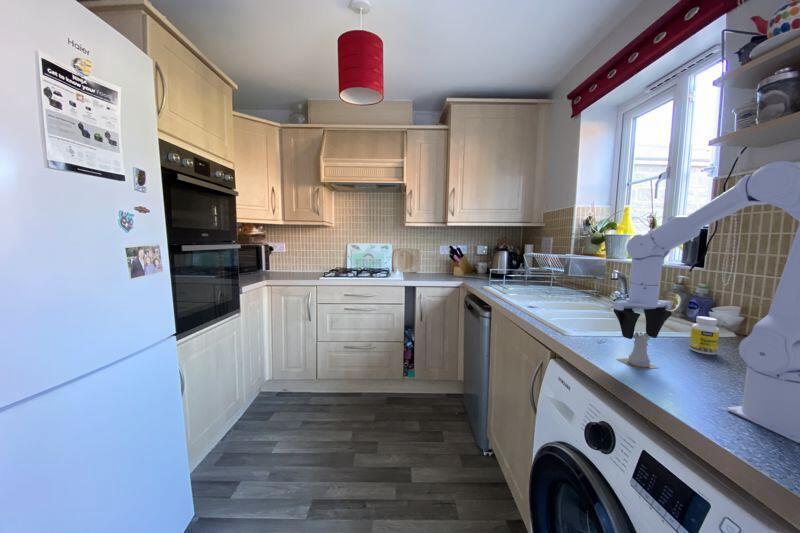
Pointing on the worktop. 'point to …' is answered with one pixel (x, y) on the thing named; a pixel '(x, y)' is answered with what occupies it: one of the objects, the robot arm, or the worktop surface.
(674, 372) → the worktop surface
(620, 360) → the walnut tile
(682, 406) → the worktop surface
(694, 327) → the supplement bottle
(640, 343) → the rook chess piece
